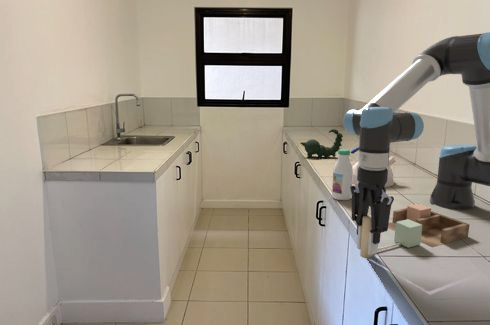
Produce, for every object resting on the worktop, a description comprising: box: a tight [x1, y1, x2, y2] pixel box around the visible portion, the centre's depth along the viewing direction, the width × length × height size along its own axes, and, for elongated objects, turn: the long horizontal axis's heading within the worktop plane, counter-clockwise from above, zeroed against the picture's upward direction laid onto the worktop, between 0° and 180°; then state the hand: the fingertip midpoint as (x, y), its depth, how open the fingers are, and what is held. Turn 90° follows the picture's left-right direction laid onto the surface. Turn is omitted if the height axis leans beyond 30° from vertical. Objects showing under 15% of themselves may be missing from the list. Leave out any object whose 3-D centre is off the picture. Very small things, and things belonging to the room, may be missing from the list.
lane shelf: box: [388, 207, 471, 248], centre depth 119 cm, size 16×19×5 cm
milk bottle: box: [331, 148, 353, 201], centre depth 152 cm, size 8×8×20 cm
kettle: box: [350, 146, 397, 188], centre depth 177 cm, size 20×21×18 cm
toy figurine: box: [300, 128, 344, 159], centre depth 232 cm, size 9×19×25 cm
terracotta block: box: [406, 203, 432, 222], centre depth 124 cm, size 5×5×6 cm
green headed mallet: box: [359, 215, 422, 259], centre depth 106 cm, size 20×5×11 cm, turn 116°
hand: (367, 250), depth 103 cm, fingers closed on green headed mallet, 3 cm apart
